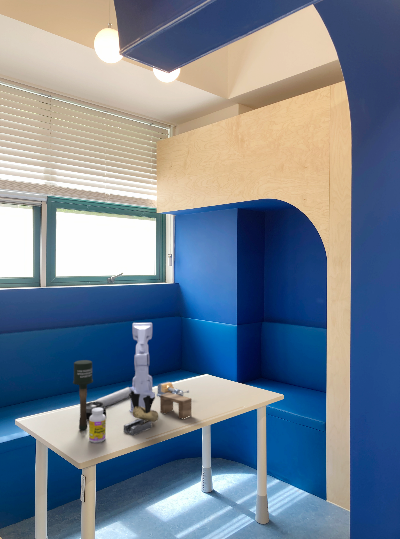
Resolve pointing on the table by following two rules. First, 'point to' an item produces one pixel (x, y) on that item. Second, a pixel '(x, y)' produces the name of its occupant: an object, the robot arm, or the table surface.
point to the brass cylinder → (145, 414)
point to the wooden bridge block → (169, 398)
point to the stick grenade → (83, 387)
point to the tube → (115, 397)
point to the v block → (137, 426)
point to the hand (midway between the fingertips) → (141, 410)
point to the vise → (169, 389)
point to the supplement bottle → (97, 426)
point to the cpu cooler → (94, 405)
